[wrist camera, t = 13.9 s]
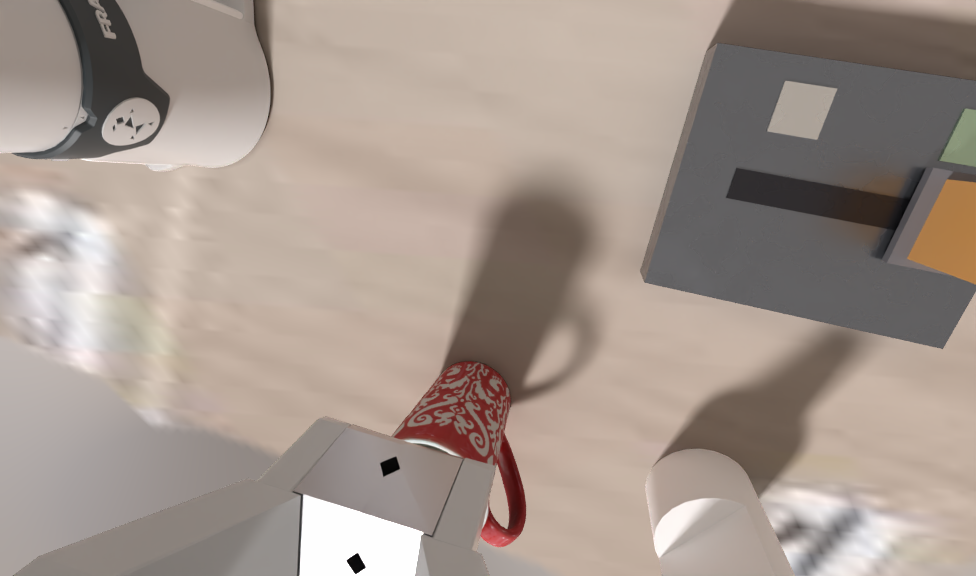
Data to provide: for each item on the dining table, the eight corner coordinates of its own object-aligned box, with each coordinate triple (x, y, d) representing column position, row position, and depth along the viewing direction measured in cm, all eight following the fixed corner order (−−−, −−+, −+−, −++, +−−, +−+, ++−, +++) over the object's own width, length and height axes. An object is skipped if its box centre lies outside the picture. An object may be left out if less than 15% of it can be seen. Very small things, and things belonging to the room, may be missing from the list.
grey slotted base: (640, 271, 37) (644, 282, 34) (706, 51, 31) (718, 42, 28) (913, 331, 34) (944, 349, 31) (1037, 101, 28) (1088, 97, 26)
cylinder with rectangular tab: (693, 546, 43) (729, 686, 32) (624, 485, 43) (636, 606, 32) (775, 496, 40) (847, 634, 29) (701, 430, 40) (745, 543, 29)
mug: (408, 387, 45) (337, 484, 32) (471, 332, 41) (420, 416, 29) (497, 476, 46) (462, 603, 33) (566, 429, 42) (556, 550, 30)
